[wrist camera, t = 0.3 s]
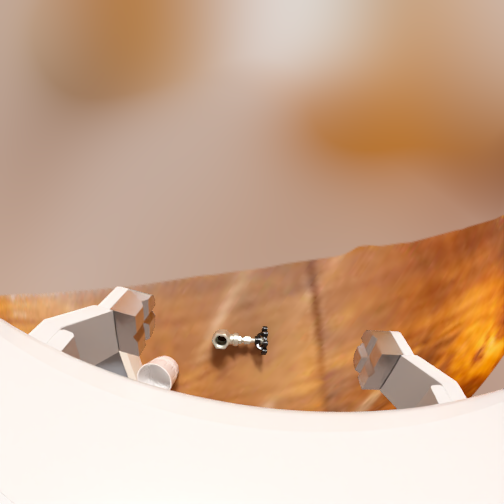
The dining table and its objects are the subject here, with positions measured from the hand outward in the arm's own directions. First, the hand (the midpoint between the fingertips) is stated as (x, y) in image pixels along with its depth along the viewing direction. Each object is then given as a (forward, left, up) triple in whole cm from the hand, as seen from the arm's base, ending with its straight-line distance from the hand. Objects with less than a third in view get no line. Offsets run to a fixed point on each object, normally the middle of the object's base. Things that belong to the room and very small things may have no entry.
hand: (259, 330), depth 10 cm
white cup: (-12, +24, -54) cm, 60 cm away
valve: (-9, +4, -54) cm, 55 cm away
